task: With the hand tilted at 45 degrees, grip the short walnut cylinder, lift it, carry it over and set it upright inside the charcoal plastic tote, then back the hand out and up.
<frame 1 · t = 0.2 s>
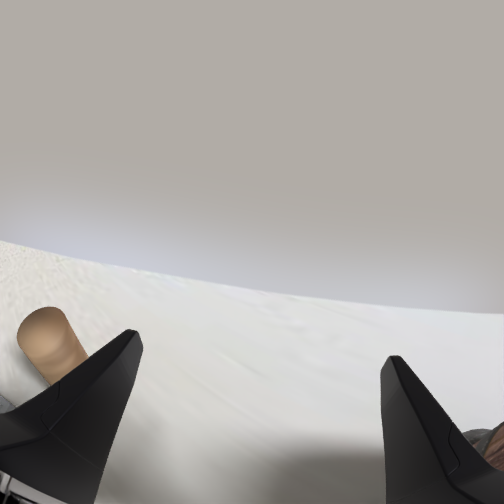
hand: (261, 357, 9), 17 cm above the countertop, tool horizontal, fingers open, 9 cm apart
walnut cylinder: (86, 393, 23), on the countertop
tankard: (498, 484, 11), on the countertop
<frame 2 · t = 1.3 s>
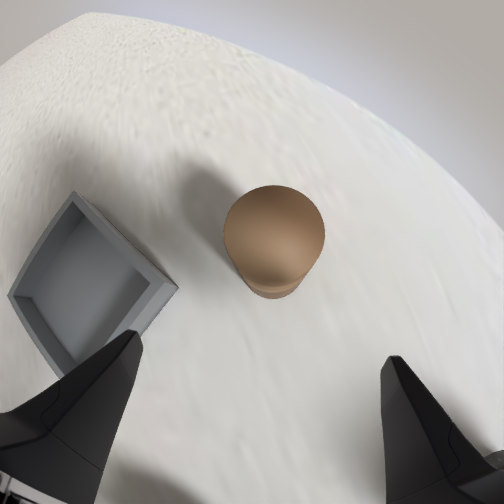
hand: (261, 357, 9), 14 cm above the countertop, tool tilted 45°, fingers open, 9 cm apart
tote: (88, 295, 24), on the countertop
walnut cylinder: (273, 268, 24), on the countertop
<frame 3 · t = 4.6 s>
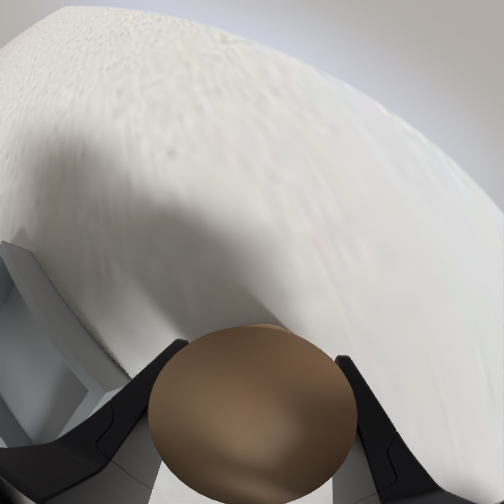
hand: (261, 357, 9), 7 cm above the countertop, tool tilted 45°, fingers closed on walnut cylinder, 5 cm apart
tote: (34, 371, 16), on the countertop
walnut cylinder: (262, 366, 15), on the countertop, touching gripper
when the fingers open (9 cm above the countertop, at t = 9.5 s): walnut cylinder drops 1 cm, resting on tote.
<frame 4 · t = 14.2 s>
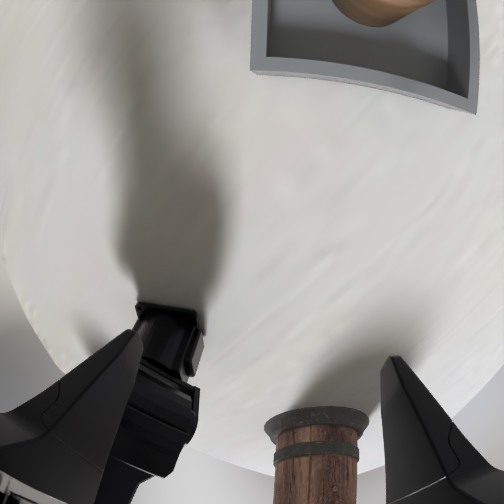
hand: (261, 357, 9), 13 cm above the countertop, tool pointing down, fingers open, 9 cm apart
tankard: (315, 435, 40), on the countertop
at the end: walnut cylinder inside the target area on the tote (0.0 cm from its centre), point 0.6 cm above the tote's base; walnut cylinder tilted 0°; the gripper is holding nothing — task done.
